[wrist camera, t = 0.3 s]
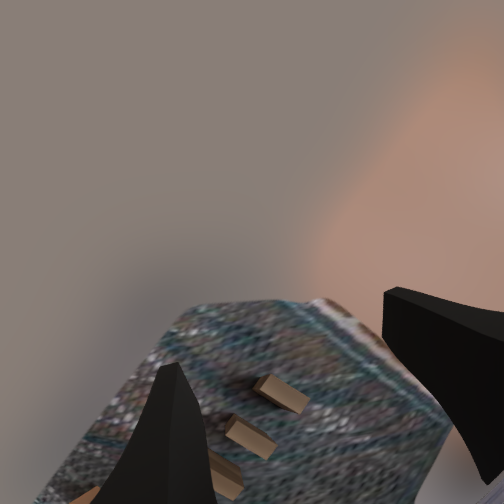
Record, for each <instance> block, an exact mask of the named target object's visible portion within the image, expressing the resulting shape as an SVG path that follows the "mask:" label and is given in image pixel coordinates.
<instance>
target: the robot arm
mask: <svg viewBox="0 0 504 504" xmlns="http://www.w3.org/2000/svg"><path fill="white" fill-rule="evenodd" d="M382 338H383V339H384V341H385V342H386V344H387V345H388V347H389V348H390V349H391V351H392V352H393V353H394V355H395V356H396V357H397V358H398V359H399V361H400V362H401V363H402V364H403V365H404V366H405V367H406V368H407V369H408V370H409V371H410V372H411V373H412V374H413V375H414V376H415V377H416V378H417V379H418V380H419V381H420V382H421V384H422V385H423V386H424V387H425V388H426V389H427V390H428V391H429V392H430V393H431V394H432V395H433V396H434V397H435V399H436V400H437V401H438V402H439V404H440V405H441V406H442V408H443V409H444V411H445V412H446V413H447V415H448V416H449V418H450V419H451V421H452V422H453V424H454V425H455V427H456V428H457V430H458V432H459V433H460V435H461V436H462V438H463V440H464V442H465V444H466V446H467V448H468V449H469V451H470V453H471V455H472V457H473V459H474V462H475V464H476V466H477V468H478V471H479V474H480V476H481V479H482V480H483V481H484V482H485V484H486V485H489V484H490V483H491V482H492V481H493V480H494V479H495V478H496V477H497V476H498V475H499V474H500V473H501V472H502V471H503V470H504V312H498V311H491V310H485V309H480V308H475V307H471V306H467V305H463V304H459V303H455V302H452V301H448V300H445V299H441V298H438V297H434V296H431V295H427V294H424V293H421V292H417V291H413V290H410V289H405V288H401V287H395V288H393V289H390V290H388V291H385V292H384V301H383V324H382ZM503 501H504V478H503V479H502V480H501V481H500V482H499V483H498V484H497V485H496V486H495V487H494V488H493V489H492V490H491V491H490V492H489V493H488V494H487V495H485V496H484V497H483V498H482V499H481V500H480V501H479V502H478V503H476V504H501V503H502V502H503ZM89 504H217V500H216V497H215V492H214V488H213V482H212V476H211V469H210V462H209V455H208V447H207V440H206V433H205V427H204V423H203V419H202V415H201V411H200V407H199V403H198V401H197V399H196V397H195V395H194V393H193V391H192V389H191V387H190V385H189V383H188V381H187V379H186V377H185V375H184V373H183V371H182V369H181V367H180V364H179V362H176V363H172V364H168V365H164V366H160V368H159V369H158V372H157V375H156V377H155V380H154V383H153V386H152V388H151V391H150V394H149V396H148V399H147V402H146V404H145V406H144V409H143V411H142V414H141V416H140V419H139V421H138V423H137V425H136V428H135V430H134V432H133V434H132V436H131V438H130V440H129V442H128V444H127V446H126V448H125V450H124V452H123V454H122V456H121V458H120V459H119V461H118V463H117V465H116V466H115V468H114V470H113V471H112V473H111V474H110V476H109V477H108V479H107V480H106V482H105V483H104V485H103V486H102V488H101V489H100V491H99V492H98V493H97V495H96V496H95V497H94V499H93V500H92V501H91V502H90V503H89Z"/></svg>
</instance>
